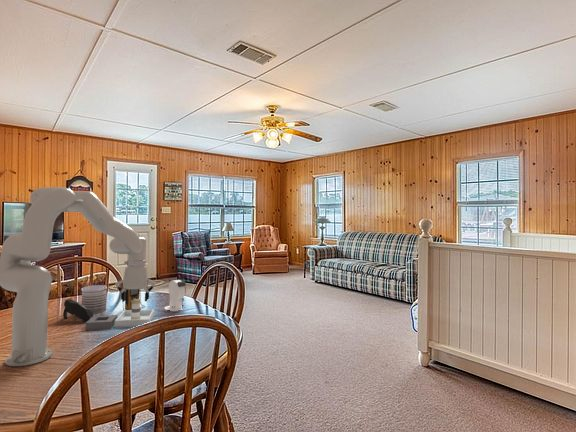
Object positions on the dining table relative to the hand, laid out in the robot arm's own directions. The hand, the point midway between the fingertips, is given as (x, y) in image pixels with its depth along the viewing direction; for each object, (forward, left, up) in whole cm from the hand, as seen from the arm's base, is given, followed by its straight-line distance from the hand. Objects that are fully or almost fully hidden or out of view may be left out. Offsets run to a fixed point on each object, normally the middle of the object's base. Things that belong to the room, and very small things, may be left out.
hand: (135, 300), depth 155 cm
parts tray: (+1, 0, -10) cm, 10 cm away
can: (+22, +24, -10) cm, 33 cm away
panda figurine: (+21, -16, -10) cm, 28 cm away
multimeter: (+21, +3, -10) cm, 23 cm away
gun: (+6, +26, -10) cm, 28 cm away
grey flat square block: (-3, +13, -10) cm, 16 cm away
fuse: (+1, 0, -9) cm, 9 cm away
